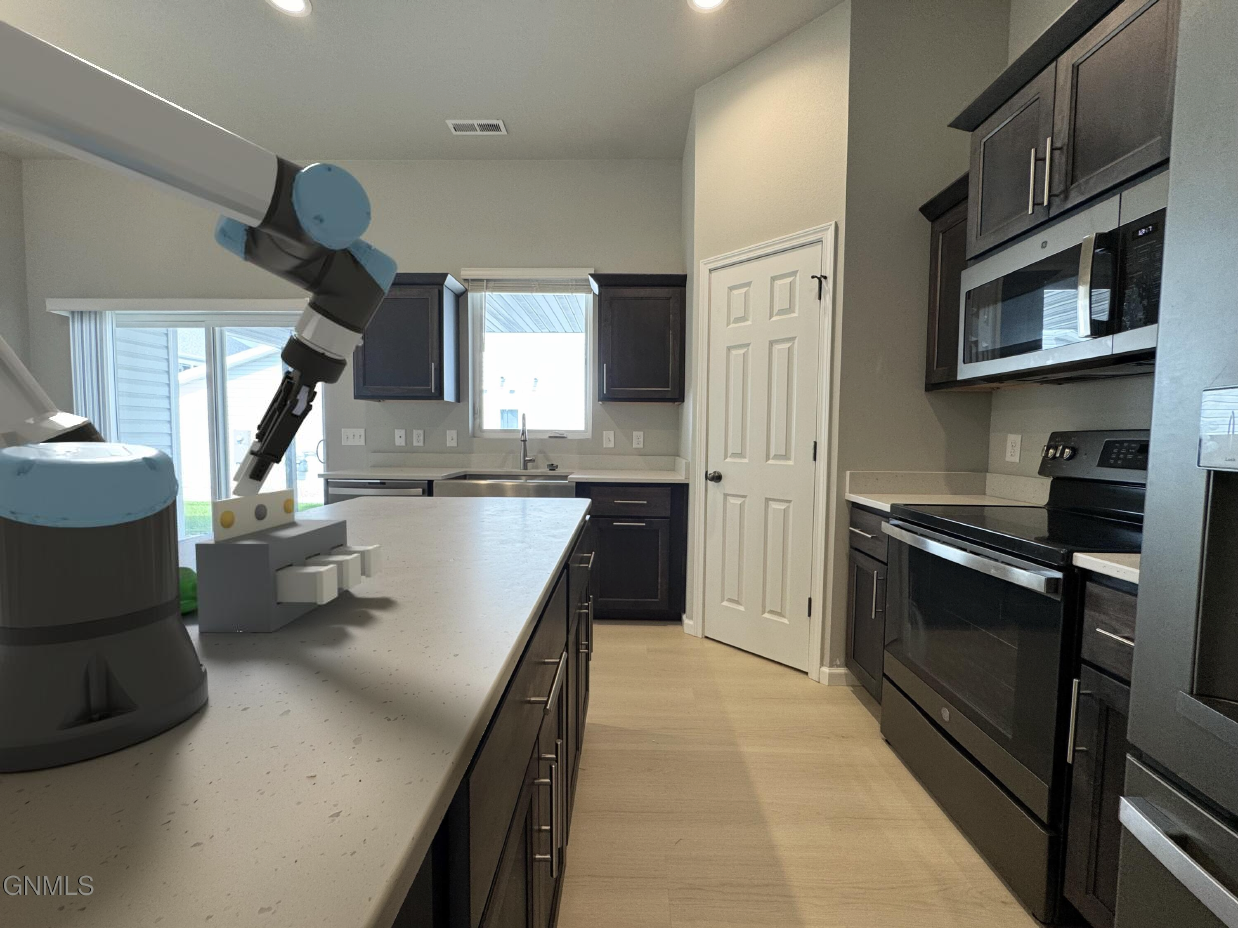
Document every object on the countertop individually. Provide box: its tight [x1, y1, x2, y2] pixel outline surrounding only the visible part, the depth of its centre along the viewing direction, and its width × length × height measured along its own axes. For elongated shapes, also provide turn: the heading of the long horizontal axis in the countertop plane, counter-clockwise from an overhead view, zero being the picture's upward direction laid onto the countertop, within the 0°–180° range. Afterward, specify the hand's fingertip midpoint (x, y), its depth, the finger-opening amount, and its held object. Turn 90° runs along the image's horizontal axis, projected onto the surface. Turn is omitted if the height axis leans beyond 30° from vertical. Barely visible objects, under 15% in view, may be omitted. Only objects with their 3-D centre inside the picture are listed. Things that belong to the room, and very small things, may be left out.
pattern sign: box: [212, 488, 296, 541], centre depth 77 cm, size 16×1×5 cm, turn 179°
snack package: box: [179, 566, 198, 615], centre depth 77 cm, size 7×16×5 cm, turn 44°
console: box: [194, 519, 348, 633], centre depth 78 cm, size 19×9×11 cm, turn 179°
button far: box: [331, 544, 382, 578], centre depth 84 cm, size 3×8×4 cm, turn 89°
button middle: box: [306, 554, 362, 591], centre depth 78 cm, size 3×8×4 cm, turn 89°
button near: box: [276, 565, 339, 605], centre depth 71 cm, size 3×8×4 cm, turn 89°
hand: (243, 488), depth 79 cm, fingers open, 4 cm apart
